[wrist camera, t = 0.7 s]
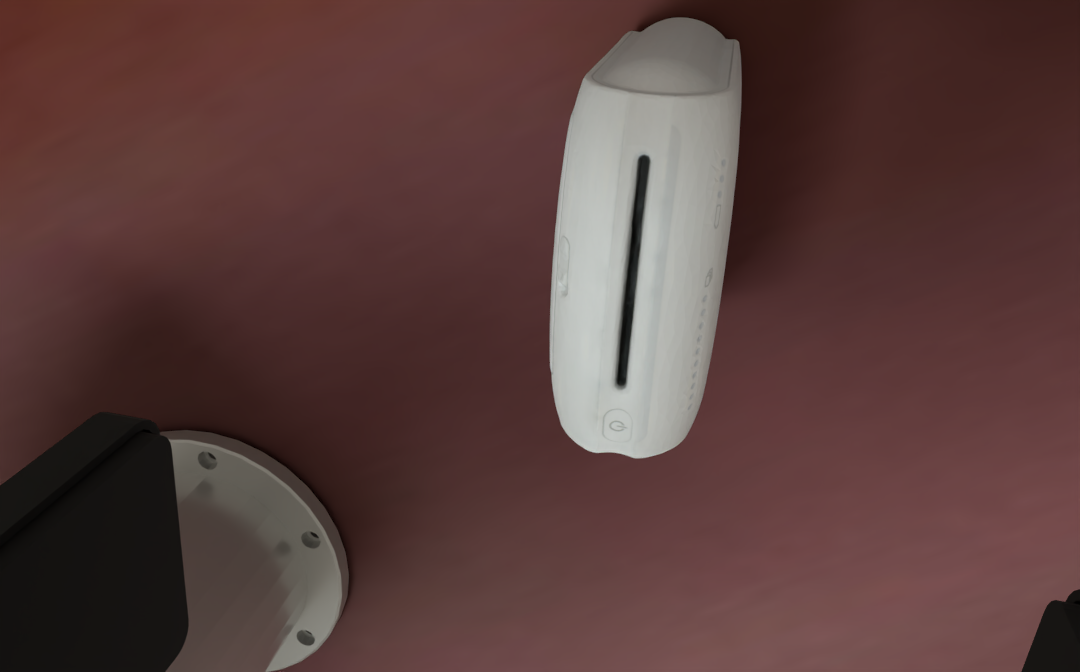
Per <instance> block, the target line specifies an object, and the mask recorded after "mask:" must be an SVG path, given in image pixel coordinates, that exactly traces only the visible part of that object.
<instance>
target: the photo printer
mask: <svg viewBox="0 0 1080 672" xmlns="http://www.w3.org/2000/svg"><path fill="white" fill-rule="evenodd" d="M741 95H742V72H741V54H740V46H739V42H738V41H737V40H735V39H725V37H724V36H723V35H722V34H721V33H720V32H719V31H717V30H716V29H715V28H714V27H712V26H710V25H709V24H706V23H704V22H702V21H699V20H696V19H691V18H682V17H677V18H669V19H665V20H662V21H659V22H656V23H654V24H653V25H651V26H649V27H647V28H646V29H645V30H643V31H642V32H636V31H629V32H627V33H626V34H625V35H624V36H623V37H622V38H621V39H620V41H619V42H618V43H617V44H616V45H615V46H614V47H613V48H612V49H611V50H610V51H609V52H608V53H607V54H606V55H605V56H604V57H603V58H602V59H601V60H600V61H599V62H598V63H597V64H596V65H595V66H594V67H593V68H592V69H591V70H590V71H589V72H588V73H587V74H586V76H585V77H584V79H583V81H582V84H581V87H580V90H579V93H578V96H577V100H576V103H575V107H574V110H573V112H572V114H571V118H570V123H569V127H568V133H567V138H566V144H565V152H564V160H563V167H562V174H561V181H560V189H559V198H558V208H557V218H556V228H555V241H554V254H553V266H552V284H551V307H550V369H551V373H552V386H553V394H554V400H555V405H556V409H557V413H558V416H559V419H560V423H561V426H562V427H563V429H564V430H565V432H566V433H567V435H568V436H569V437H570V438H571V439H572V440H573V441H574V442H575V443H577V444H578V445H580V446H581V447H583V448H584V449H586V450H588V451H590V452H594V453H603V452H613V453H620V454H623V455H627V456H630V457H632V458H646V457H650V456H655V455H658V454H661V453H664V452H666V451H668V450H670V449H672V448H674V447H676V446H677V445H678V444H679V443H681V442H682V441H683V440H684V438H685V437H686V436H687V434H688V432H689V430H690V428H691V426H692V424H693V422H694V420H695V417H696V415H697V413H698V410H699V407H700V404H701V401H702V397H703V394H704V389H705V385H706V380H707V375H708V370H709V365H710V360H711V354H712V349H713V343H714V337H715V331H716V325H717V319H718V313H719V306H720V300H721V293H722V286H723V279H724V272H725V264H726V257H727V249H728V242H729V234H730V226H731V219H732V210H733V201H734V191H735V182H736V173H737V162H738V151H739V134H740V117H741Z"/></svg>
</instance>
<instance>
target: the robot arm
mask: <svg viewBox="0 0 1080 672" xmlns="http://www.w3.org/2000/svg"><path fill="white" fill-rule="evenodd" d="M348 583H349V572H348V565H347V558H346V552H345V549H344V547H343V544H342V541H341V538H340V535H339V533H338V530H337V528H336V526H335V525H334V523H333V521H332V519H331V518H330V516H329V514H328V512H327V511H326V509H325V507H324V506H323V505H322V504H321V502H320V501H319V500H318V499H317V498H316V496H315V495H314V494H313V493H312V491H311V490H310V489H309V488H308V486H306V485H305V484H304V483H303V482H302V481H301V480H300V479H299V478H298V477H296V476H295V475H294V474H293V473H292V472H291V471H290V470H289V469H288V468H286V467H285V466H283V465H282V464H280V463H279V462H277V461H276V460H274V459H273V458H271V457H270V456H268V455H267V454H265V453H264V452H262V451H260V450H258V449H255V448H253V447H251V446H249V445H247V444H245V443H243V442H240V441H238V440H235V439H232V438H228V437H225V436H221V435H218V434H214V433H209V432H200V431H191V430H179V431H166V432H160V431H159V429H158V427H157V425H156V424H155V423H154V422H152V421H151V420H147V419H142V418H136V417H131V416H125V415H120V414H114V413H109V412H100V413H98V414H96V415H94V416H92V417H91V418H90V419H88V420H87V421H86V422H84V423H83V424H82V425H80V426H79V427H78V428H76V429H75V430H74V431H72V432H71V433H70V434H68V435H67V436H66V437H64V438H63V439H62V440H60V441H59V442H58V443H56V444H55V445H54V446H52V447H51V448H50V449H48V450H47V451H46V452H44V453H43V454H42V455H40V456H39V457H38V458H37V459H35V460H34V461H33V462H31V463H30V464H29V465H27V466H26V467H25V468H23V469H22V470H21V471H19V472H18V473H17V474H15V475H14V476H13V477H11V478H10V479H9V480H7V481H6V482H5V483H3V484H2V485H1V486H0V672H271V671H276V670H282V669H284V668H287V667H289V666H292V665H294V664H297V663H299V662H301V661H303V660H304V659H306V658H307V657H308V656H310V655H311V654H313V653H314V652H315V651H317V650H318V649H319V647H320V646H321V645H322V644H323V643H324V642H325V640H326V639H327V638H328V637H329V636H330V634H331V632H332V630H333V629H334V627H335V625H336V624H337V622H338V620H339V618H340V617H341V614H342V611H343V608H344V605H345V602H346V599H347V596H348ZM1022 672H1080V590H1076V591H1073V592H1072V593H1071V594H1070V595H1069V596H1068V598H1067V600H1066V602H1062V601H1057V600H1055V601H1051V602H1050V603H1049V604H1048V605H1047V607H1046V609H1045V611H1044V614H1043V616H1042V619H1041V622H1040V624H1039V627H1038V630H1037V632H1036V635H1035V637H1034V640H1033V643H1032V645H1031V648H1030V651H1029V653H1028V656H1027V659H1026V661H1025V664H1024V667H1023V669H1022Z"/></svg>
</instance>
